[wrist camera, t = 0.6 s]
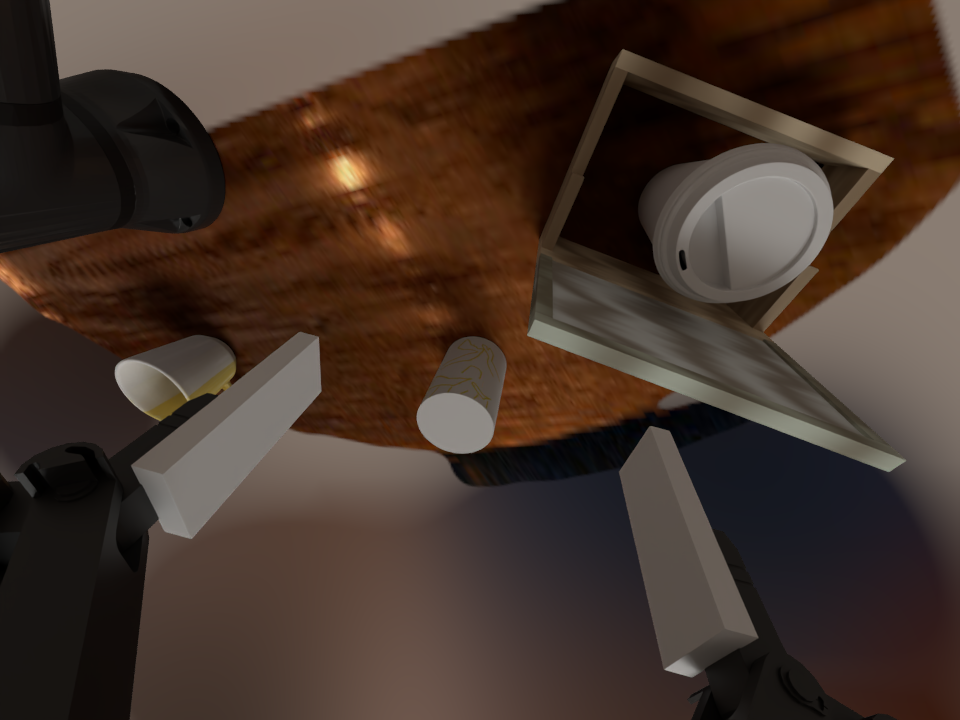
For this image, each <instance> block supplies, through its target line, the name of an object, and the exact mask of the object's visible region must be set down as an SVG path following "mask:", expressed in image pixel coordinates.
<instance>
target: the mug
mask: <svg viewBox="0 0 960 720" xmlns="http://www.w3.org/2000/svg"><path fill="white" fill-rule="evenodd" d="M235 372H236V357H235V355H234V353H233V351H232V350H231V349H230V347H229V346H228V345H226V344H225V343H224V342H222V341H221V340H219V339H216V338H213V337H209V336H204V335H194V336H190V337H187V338H185V339H182V340H179V341H176V342H173V343H170V344H167V345H164V346H161V347H158V348H155V349H152V350H149V351H147V352H144V353H141V354H138V355H135V356H132V357H129V358H127V359H124V360H122V361H120V362H119V363H118V364H117V366H116V368H115V377H116V381H117V383H118V385H119V386H120V389H121V390H122V392H123V393H124V394H125V396H126V397H127V398H128V399H129V400H130V401H131V402H132V403H133V404H134V405H135V406H136V407H138V408H139V409H140V410H142V411H143V412H145V413H146V414H148V415H149V416H151V417H153V418H155V419H157V420H159V421H162V420H163V419H164V418H166V417H167V416H168V415H172V412H174V411H175V410H176V409H178V408H179V407H181V406H182V405H183V404H185V403H186V402H187V401H189V400H192V399H194V398H196V397H199V396H201V395H203V394H206V393H211V394H215V395H216V394H217V393H218V392H219V391H220V389H221V388H223V390H224V391H225V390H227V389H228V388H229V387H231V386H232V385H231V383H230V379H231V378H232V377H233V376H234V374H235Z"/></svg>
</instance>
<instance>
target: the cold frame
mask: <svg viewBox="0 0 960 720" xmlns="http://www.w3.org/2000/svg"><path fill="white" fill-rule="evenodd" d="M623 84H624V85H626V86H629V87H631V88H634V89H636V90H639V91H641V92H644V93H646V94H649V95H651V96H654V97H656V98H659V99H661V100H663V101H666V102H668V103H671V104H673V105H676V106H678V107H681V108H683V109H686V110H688V111H691V112H693V113H696V114H698V115H701V116H703V117H706V118H708V119H711V120H713V121H716V122H718V123H721V124H723V125H726V126H728V127H731V128H733V129H736V130H738V131H741V132H743V133H746V134H748V135H751V136H753V137H756V138H758V139H761V140H763V141H766V142H768V143H774V144H781V145H786V146H789V147H792V148H795V149H797V150H799V151H801V152H803V153H804V154H806V155H807V156H808V157H810V158H811V159H812V160H813V161H816V162H818V163H821V164H823V165H824V166H823V167H822V169H821V170H822V171H823V173H824V174H825V176H826V178H827V181H828V183H829V186H830V190H831V195H832V200H833V221H832V225H831V229H830V232H831V231H832V230H833V229H834V227H835V226H836V225H837V224H838V223H839V222H840V221H841V219H842V218H843V217H844V216H845V215H846V214H847V212H848V211H849V210H850V209H851V208H852V207H853V205H854V204H855V203H856V202H857V201H858V200H859V199H860V197H861V196H862V195H863V194H864V193H865V192H866V190H867V189H868V188H869V187H870V186H871V185H872V184H873V182H874V181H875V180H876V179H877V178H878V177H879V175H880V174H881V173H882V172H883V171H884V170H885V168H886V167H887V166H888V165H889V164H890V163H891V162H892V160H893V159H894V158H892V157H889V156H887V155H884V154H882V153H879V152H877V151H874V150H872V149H869V148H867V147H864V146H862V145H859V144H857V143H854V142H852V141H849V140H847V139H844V138H842V137H839V136H837V135H835V134H832V133H830V132H827V131H825V130H822V129H820V128H817V127H815V126H812V125H810V124H807V123H805V122H802V121H800V120H797V119H795V118H792V117H790V116H787V115H785V114H782V113H780V112H778V111H775V110H773V109H770V108H768V107H765V106H763V105H760V104H758V103H755V102H753V101H750V100H748V99H745V98H743V97H740V96H738V95H735V94H733V93H730V92H728V91H725V90H723V89H721V88H718V87H716V86H713V85H711V84H708V83H706V82H703V81H701V80H698V79H696V78H693V77H691V76H688V75H686V74H683V73H681V72H678V71H676V70H673V69H671V68H669V67H666V66H664V65H661V64H659V63H656V62H654V61H651V60H649V59H646V58H644V57H641V56H639V55H636V54H634V53H631V52H629V51H626V50H624V49H622V50H621V52H620V53H619V54H618V56H617V57H616V58H615V60H614V61H613V62H612V64H611V67H610V69H609V72H608V74H607V77H606V79H605V81H604V84H603V86H602V89H601V91H600V94H599V96H598V98H597V101H596V103H595V106H594V108H593V110H592V113H591V115H590V118H589V120H588V123H587V125H586V127H585V130H584V132H583V135H582V137H581V140H580V142H579V144H578V147H577V149H576V152H575V154H574V157H573V159H572V161H571V164H570V166H569V169H568V171H567V174H566V176H565V178H564V181H563V183H562V186H561V188H560V190H559V193H558V195H557V198H556V200H555V203H554V205H553V207H552V210H551V212H550V215H549V217H548V220H547V222H546V224H545V227H544V229H543V232H542V234H541V237H540V239H539V245H538V253H537V261H536V269H535V277H534V285H533V293H532V301H531V309H530V317H529V326H528V334H527V336H530V337H532V338H535V339H538V340H540V341H543V342H546V343H548V344H551V345H554V346H556V347H559V348H562V349H564V350H567V351H570V352H572V353H575V354H577V355H580V356H583V357H585V358H588V359H591V360H593V361H596V362H599V363H601V364H604V365H607V366H609V367H612V368H615V369H617V370H620V371H623V372H625V373H628V374H630V375H633V376H636V377H638V378H641V379H644V380H646V381H649V382H652V383H654V384H657V385H660V386H662V387H665V388H668V389H670V390H673V391H675V392H678V393H681V394H683V395H686V396H689V397H691V398H694V399H697V400H699V401H702V402H705V403H707V404H710V405H713V406H715V407H718V408H720V409H723V410H726V411H728V412H731V413H734V414H736V415H739V416H742V417H744V418H747V419H750V420H752V421H755V422H758V423H760V424H763V425H766V426H768V427H771V428H774V429H776V430H779V431H781V432H784V433H787V434H789V435H792V436H795V437H797V438H800V439H803V440H805V441H808V442H811V443H813V444H816V445H818V446H821V447H824V448H826V449H829V450H832V451H835V452H837V453H840V454H842V455H845V456H848V457H850V458H853V459H856V460H858V461H861V462H863V463H866V464H869V465H871V466H874V467H877V468H879V469H882V470H885V471H888V472H890V471H891V470H893V469H894V468H896V467H897V466H899V465H900V464H902V463H903V462H905V461H906V460H905V459H904V458H903V457H902V456H901V455H900V454H898V452H896V451H895V450H894V449H893V448H892V447H891V446H890V445H889V444H887V443H886V442H885V441H884V440H883V439H882V438H881V437H880V436H878V435H877V434H876V433H875V432H874V431H873V430H872V429H871V428H869V427H868V426H867V425H866V424H865V423H864V422H863V421H862V420H860V419H859V418H858V417H857V416H856V415H855V414H854V413H853V412H851V410H849V409H848V408H847V407H846V406H845V405H844V404H843V403H842V402H840V401H839V400H838V399H837V398H836V397H835V396H834V395H832V394H831V393H830V392H829V391H828V390H827V389H826V388H825V387H824V386H823V385H821V384H820V383H819V382H818V381H817V380H816V379H815V378H814V377H812V376H811V375H810V374H809V373H808V372H807V371H806V370H805V369H803V368H802V367H801V366H800V365H799V364H798V363H797V362H796V361H795V360H793V359H792V358H791V357H790V356H789V355H788V354H787V353H786V352H784V351H783V350H782V349H781V348H780V347H779V346H777V344H776V343H774V342H773V341H772V340H771V339H770V338H769V337H768V336H767V335H765V334H764V333H763V332H764V331H765V330H766V328H767V327H768V326H769V325H770V324H771V323H772V322H773V321H774V320H775V318H776V317H777V316H778V315H779V314H780V313H781V312H782V311H783V310H784V308H785V307H786V306H787V305H788V304H789V303H790V302H791V301H792V300H793V298H794V297H795V296H796V295H797V294H798V293H799V292H800V291H801V290H802V288H803V287H804V286H805V285H806V284H807V283H808V282H809V281H810V280H811V278H812V277H813V276H814V275H815V274H816V273H817V272H818V271H819V269H817V268H814V267H812V266H810V265H809V266H808V267H807V268H806V269H805V270H804V271H803V272H801V273H800V274H799V275H798V276H797V277H796V278H794V279H793V280H792V281H790V282H789V283H787V284H786V285H784V286H782V287H781V288H779V289H777V290H775V291H773V292H771V293H769V294H766V295H764V296H761V297H758V298H755V299H751V300H746V301H739V302H732V303H706V302H701V301H697V300H693V299H690V298H687V297H685V296H683V295H681V294H679V293H677V292H676V291H674V290H673V289H672V288H671V287H669V286H668V285H667V284H666V282H665V281H664V280H663V279H662V277H661V276H660V275H657V274H655V273H652V272H650V271H647V270H644V269H642V268H639V267H637V266H634V265H632V264H629V263H626V262H624V261H621V260H619V259H616V258H613V257H611V256H608V255H606V254H603V253H600V252H598V251H595V250H593V249H590V248H588V247H585V246H582V245H580V244H577V243H575V242H572V241H569V240H567V239H564V238H562V237H559V235H560V232H561V230H562V228H563V226H564V223H565V221H566V219H567V217H568V214H569V212H570V210H571V207H572V205H573V203H574V201H575V198H576V196H577V194H578V192H579V189H580V187H581V185H582V183H583V180H584V177H583V174H584V172H585V169H586V167H587V165H588V162H589V160H590V158H591V156H592V153H593V151H594V149H595V146H596V144H597V142H598V140H599V137H600V135H601V133H602V130H603V128H604V126H605V124H606V121H607V119H608V117H609V114H610V112H611V110H612V108H613V105H614V103H615V101H616V98H617V96H618V94H619V92H620V89H621V87H622V85H623ZM830 232H829V233H830Z"/></svg>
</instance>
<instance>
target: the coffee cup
mask: <svg viewBox="0 0 960 720" xmlns="http://www.w3.org/2000/svg"><path fill="white" fill-rule="evenodd" d="M638 216H639V220H640V222H641V225H642V226H643V228H644V230H645V232H646V234H647V235H648V237H649V239H650V241H651V243H652V245H653V256H654V261H655V264H656V267H657V270H658V272H659V274H660V275H661V277H662V279H663V280H664V281H665V282H666V284H667V285H668V286H669V287H671V288H672V289H673V290H674V291H676V292H677V293H679V294H681V295H683V296H685V297H687V298H690V299H693V300H697V301H701V302H706V303H732V302H739V301H746V300H751V299H755V298H758V297H761V296H764V295H766V294H769V293H771V292H773V291H775V290H777V289H779V288H781V287H782V286H784V285H786V284H787V283H789V282H790V281H792V280H793V279H794V278H796V277H797V276H798V275H799V274H800V273H801V272H803V271H804V270H805V269H806V268H807V267H808V266H809V265H810V263H811V262H812V261H813V260H814V259H815V257H816V256H817V255H818V253H819V252H820V250H821V249H822V247H823V245H824V243H825V241H826V239H827V237H828V235H829V232H830V229H831V225H832V221H833V200H832V195H831V190H830V186H829V183H828V181H827V178H826V176H825V174H824V173H823V171H822V170H821V168H820V167H819V166H818V165H817V163H816V162H814V161H813V160H812V159H811V158H810V157H808V156H807V155H806V154H804V153H803V152H801V151H799V150H797V149H795V148H792V147H789V146H786V145H781V144H774V143H759V144H751V145H746V146H742V147H738V148H735V149H732V150H729V151H727V152H724V153H722V154H720V155H718V156H716V157H714V158H712V159H710V160H703V161H696V162H689V163H682V164H676V165H673V166H670V167H668V168H665V169H664V170H662V171H660V172H659V173H658V174H656V175H655V176H654V177H653V178H652V179H651V180H650V181H649V182H648V184H647V185H646V186H645V188H644V190H643V192H642V194H641V196H640V199H639V204H638Z"/></svg>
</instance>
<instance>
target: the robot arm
mask: <svg viewBox="0 0 960 720" xmlns="http://www.w3.org/2000/svg"><path fill="white" fill-rule="evenodd" d="M224 199H225V181H224V174H223V170H222V166H221V162H220V159H219V156H218V154H217V151H216V149H215V147H214V145H213V143H212V141H211V139H210V137H209V135H208V133H207V132H206V130H205V128H204V127H203V125H202V124H201V123H200V121H199V120H198V118H197V117H196V116H195V115H194V113H192V111H191V110H190V109H189V107H188V106H187V105H186V104H185V103H184V102H183V101H182V100H181V99H180V98H178V97H177V96H176V95H175V94H174V93H173V92H171V91H170V90H169V89H167V88H166V87H164V86H163V85H161V84H160V83H158V82H156V81H154V80H152V79H150V78H148V77H145V76H142V75H139V74H135V73H128V72H123V71H117V70H95V71H90V72H86V73H83V74H79V75H75V76H71V77H67V78H64V79H60V80H59V74H58V66H57V58H56V50H55V42H54V34H53V26H52V18H51V10H50V2H49V0H0V253H3V252H8V251H13V250H17V249H22V248H27V247H32V246H36V245H41V244H46V243H51V242H55V241H60V240H65V239H69V238H74V237H79V236H84V235H88V234H93V233H98V232H103V231H107V230H112V229H118V228H127V229H136V230H146V231H155V232H164V233H186V232H190V231H194V230H199V229H202V228H205V227H207V226H209V225H210V224H212V223H213V222H214V221H215V220H216V219H217V217H218V216H219V214H220V212H221V210H222V207H223V204H224ZM320 392H321V376H320V355H319V337H317V336H313V335H310V334H306V333H302V332H299V333H297V334H296V335H295V336H294V337H292V338H291V339H290V340H289V341H287V342H286V343H285V344H283V345H282V346H281V347H280V348H278V349H277V350H276V351H275V352H273V353H272V354H271V355H270V356H268V357H267V358H266V359H265V360H263V361H262V362H261V363H260V364H258V365H257V366H256V367H254V368H253V369H252V370H251V371H249V372H248V373H247V374H246V375H244V376H243V377H242V378H241V379H239V380H238V381H237V382H236V383H234V384H233V385H232V386H231V387H229V388H228V389H227V390H225V391H224V392H223V393H222V394H220V395H219V396H218V395H215V394H211V393H206V394H203V395H201V396H199V397H196V398H194V399H192V400H189V401H187V402H186V403H185V404H183V405H182V406H181V407H179V408H178V409H176V410H175V411H174V412H172V415H168V416H167V417H166V418H164V419H163V420H162V421H160V422H159V424H158V425H155V426H153V427H152V428H151V429H149V430H148V431H147V432H145V433H144V434H143V435H141V436H140V437H139V438H137V439H136V440H135V441H133V442H132V443H130V444H129V445H128V446H127V447H125V448H124V449H122V450H121V451H120V452H118V453H117V454H116V455H114V456H113V457H111V458H110V459H109V460H108V459H107V457H106V455H105V453H104V452H103V450H102V449H101V448H100V447H99V446H97V445H96V444H93V443H86V442H77V443H67V444H64V445H60V446H56V447H53V448H50V449H48V450H46V451H44V452H41V453H39V454H37V455H35V456H33V457H32V458H31V459H29V460H28V461H26V462H25V463H24V464H22V465H21V466H20V468H19V469H18V470H17V472H16V473H15V474H14V475H15V476H16V478H17V479H18V480H19V481H18V482H16V481H15V482H7V481H6V479H5V478H4V477H3V476H2V475H1V473H0V720H129V719H130V711H131V700H132V692H133V683H134V674H135V664H136V655H137V646H138V636H139V627H140V618H141V609H142V600H143V590H144V580H145V572H146V563H147V553H148V544H149V535H148V529H149V528H150V527H151V526H152V525H153V524H154V523H155V522H156V521H157V520H159V522H160V524H161V525H162V528H163V529H164V531H165V532H168V533H172V534H176V535H179V536H183V537H186V538H190V539H192V538H193V537H194V536H195V535H196V533H197V532H198V531H199V530H200V529H201V528H202V527H203V525H204V524H205V523H206V522H207V521H208V520H209V519H210V517H211V516H212V515H213V514H214V513H215V512H216V511H217V510H218V508H219V507H220V506H221V505H222V504H223V503H224V501H225V500H226V499H227V498H228V497H229V496H230V495H231V494H232V492H233V491H234V490H235V489H236V488H237V487H238V486H239V484H240V483H241V482H242V481H243V480H244V479H245V477H246V476H247V475H248V474H249V473H250V472H251V471H252V470H253V468H254V467H255V466H256V465H257V464H258V463H259V462H260V460H261V459H262V458H263V457H264V456H265V455H266V454H267V453H268V451H269V450H270V449H271V448H272V447H273V446H274V445H275V443H276V442H277V441H278V440H279V439H280V438H281V437H282V436H283V434H284V433H285V432H286V431H287V430H288V429H289V428H290V426H291V425H292V424H293V423H294V422H295V421H296V420H297V418H298V417H299V416H300V415H301V414H302V413H303V412H304V410H305V409H306V408H307V407H308V406H309V405H310V404H311V403H312V401H313V400H314V399H315V398H316V397H317V396H318V395H319V393H320ZM619 473H620V478H621V482H622V486H623V491H624V496H625V500H626V504H627V508H628V513H629V517H630V522H631V526H632V530H633V535H634V540H635V544H636V549H637V553H638V557H639V561H640V566H641V571H642V575H643V580H644V584H645V588H646V593H647V597H648V602H649V606H650V610H651V615H652V619H653V624H654V628H655V632H656V637H657V641H658V646H659V650H660V655H661V659H662V663H663V668H664V670H667V671H671V672H674V673H678V674H682V675H685V676H689V677H693V676H695V675H697V674H699V673H700V672H702V671H704V670H705V671H706V674H707V678H708V681H709V684H710V685H708V686H706V687H704V688H703V689H701V690H699V691H697V692H695V693H693V694H692V695H691V696H690V697H689V698H688V701H689V702H690V703H691V704H692V703H694V702H696V701H698V700H699V702H698V705H697V707H696V710H695V712H694V714H693V717H692V719H691V720H897V719H895V718H893V717H891V716H889V715H885V714H875V715H872V716H869V717H866V718H864V717H862V716H861V715H859V714H858V713H856V712H854V711H853V710H851V709H849V708H848V707H846V706H844V705H843V704H841V703H839V702H838V701H836V700H835V699H833V698H832V697H830V696H828V695H826V694H825V692H824V691H823V689H822V688H821V686H820V685H819V683H818V682H817V680H816V679H815V677H814V676H813V675H812V674H811V673H810V672H809V671H808V670H807V669H806V668H805V667H804V666H803V665H802V664H801V663H800V662H798V661H797V660H796V659H794V658H793V657H792V656H790V655H788V654H787V653H786V651H785V649H784V647H783V645H782V643H781V641H780V639H779V637H778V635H777V633H776V630H775V628H774V626H773V624H772V622H771V620H770V618H769V616H768V614H767V611H766V609H765V607H764V605H763V603H762V601H761V599H760V597H759V594H758V592H757V590H756V589H755V588H754V587H753V582H752V580H751V577H750V575H749V573H748V572H746V567H745V565H744V563H743V561H742V558H741V556H740V554H739V552H738V550H737V548H736V547H735V546H734V545H733V544H732V542H731V541H730V540H729V538H728V537H727V536H726V535H725V533H724V532H723V531H719V530H715V529H712V528H711V526H710V524H709V522H708V519H707V517H706V515H705V512H704V510H703V508H702V506H701V503H700V501H699V498H698V496H697V494H696V491H695V489H694V487H693V485H692V482H691V480H690V477H689V475H688V473H687V470H686V468H685V466H684V463H683V461H682V459H681V456H680V454H679V452H678V449H677V447H676V445H675V442H674V440H673V438H672V435H671V433H670V431H667V430H664V429H660V428H656V427H652V426H650V427H649V428H648V430H647V431H646V433H645V434H644V436H643V437H642V439H641V440H640V442H639V443H638V445H637V446H636V448H635V449H634V451H633V452H632V454H631V455H630V457H629V458H628V460H627V461H626V463H625V464H624V466H623V467H622V469H621V470H620V472H619Z"/></svg>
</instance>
